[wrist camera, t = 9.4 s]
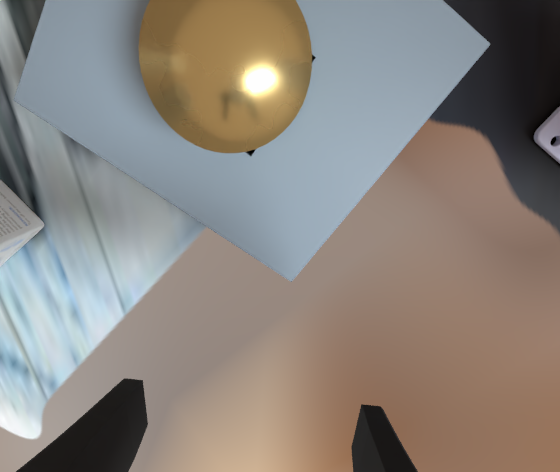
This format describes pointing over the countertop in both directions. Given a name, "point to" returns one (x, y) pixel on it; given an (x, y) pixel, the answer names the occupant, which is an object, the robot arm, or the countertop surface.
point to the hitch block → (283, 149)
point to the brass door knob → (226, 69)
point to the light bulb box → (15, 223)
